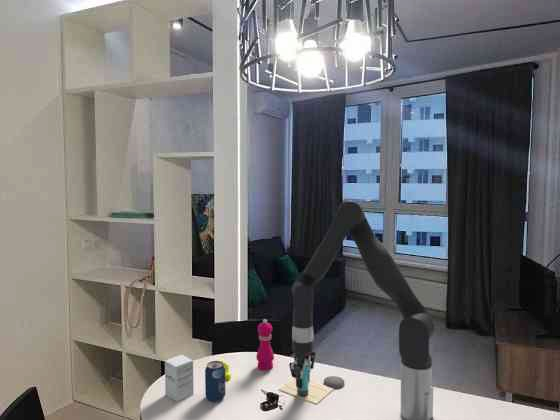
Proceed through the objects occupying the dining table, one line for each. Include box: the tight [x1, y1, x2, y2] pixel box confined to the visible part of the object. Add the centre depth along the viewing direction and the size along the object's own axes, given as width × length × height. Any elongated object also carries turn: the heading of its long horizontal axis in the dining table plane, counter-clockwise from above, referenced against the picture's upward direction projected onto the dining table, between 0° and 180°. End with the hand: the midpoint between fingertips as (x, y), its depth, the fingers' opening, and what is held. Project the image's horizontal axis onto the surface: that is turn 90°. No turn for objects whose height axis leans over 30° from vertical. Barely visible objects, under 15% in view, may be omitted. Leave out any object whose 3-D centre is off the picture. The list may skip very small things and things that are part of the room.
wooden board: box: [278, 377, 335, 405], centre depth 139 cm, size 16×12×1 cm
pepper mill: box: [255, 319, 275, 372], centre depth 156 cm, size 7×7×20 cm
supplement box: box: [164, 354, 195, 403], centre depth 136 cm, size 7×7×13 cm
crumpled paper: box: [221, 359, 232, 381], centre depth 148 cm, size 6×8×8 cm
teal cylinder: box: [297, 361, 308, 397], centre depth 136 cm, size 4×4×12 cm
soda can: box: [204, 360, 226, 403], centre depth 134 cm, size 7×7×12 cm
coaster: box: [323, 375, 345, 389], centre depth 144 cm, size 8×8×1 cm
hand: (303, 384), depth 136 cm, fingers closed on teal cylinder, 4 cm apart
